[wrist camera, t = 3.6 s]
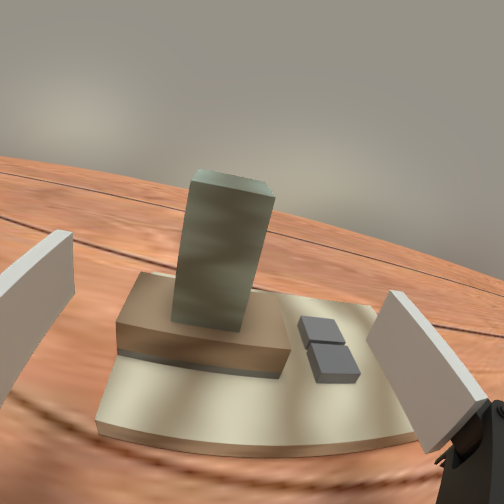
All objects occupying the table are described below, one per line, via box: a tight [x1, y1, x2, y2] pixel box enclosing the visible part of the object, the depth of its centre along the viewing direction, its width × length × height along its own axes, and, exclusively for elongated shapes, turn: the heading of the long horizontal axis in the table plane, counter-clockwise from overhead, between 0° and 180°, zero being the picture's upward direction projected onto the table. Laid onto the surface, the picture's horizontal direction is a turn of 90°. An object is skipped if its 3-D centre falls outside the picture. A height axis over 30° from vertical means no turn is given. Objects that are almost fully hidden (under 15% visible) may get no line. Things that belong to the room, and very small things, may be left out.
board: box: [95, 272, 418, 458], centre depth 21 cm, size 22×16×2 cm
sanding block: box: [116, 169, 292, 379], centre depth 17 cm, size 10×6×11 cm, turn 95°
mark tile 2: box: [297, 315, 346, 350], centre depth 22 cm, size 3×3×1 cm
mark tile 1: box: [306, 343, 361, 384], centre depth 19 cm, size 3×3×1 cm
